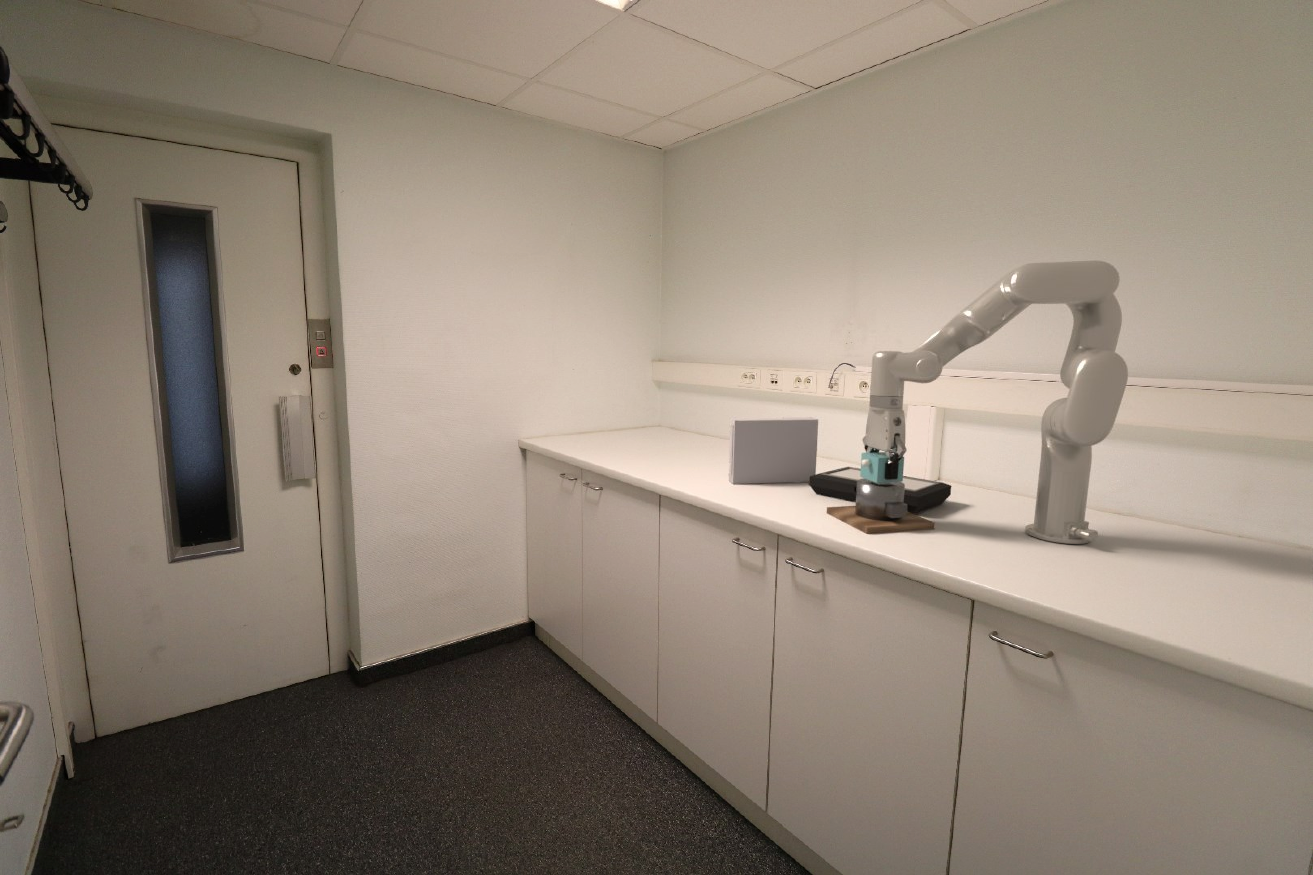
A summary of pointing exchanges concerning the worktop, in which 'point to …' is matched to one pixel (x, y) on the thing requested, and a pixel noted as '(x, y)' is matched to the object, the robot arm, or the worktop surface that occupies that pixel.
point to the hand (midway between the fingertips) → (881, 475)
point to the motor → (880, 500)
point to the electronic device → (845, 479)
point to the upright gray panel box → (772, 450)
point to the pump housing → (878, 467)
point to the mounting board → (877, 526)
